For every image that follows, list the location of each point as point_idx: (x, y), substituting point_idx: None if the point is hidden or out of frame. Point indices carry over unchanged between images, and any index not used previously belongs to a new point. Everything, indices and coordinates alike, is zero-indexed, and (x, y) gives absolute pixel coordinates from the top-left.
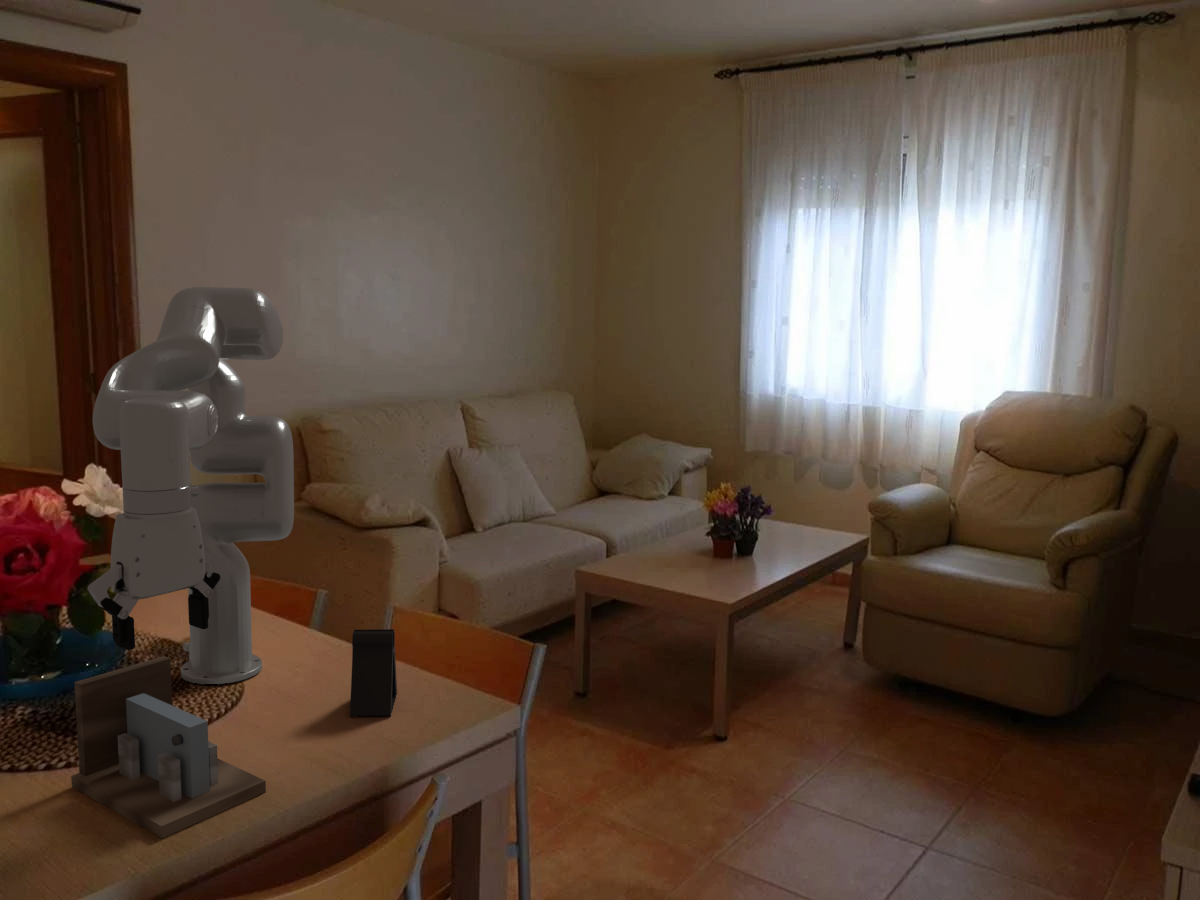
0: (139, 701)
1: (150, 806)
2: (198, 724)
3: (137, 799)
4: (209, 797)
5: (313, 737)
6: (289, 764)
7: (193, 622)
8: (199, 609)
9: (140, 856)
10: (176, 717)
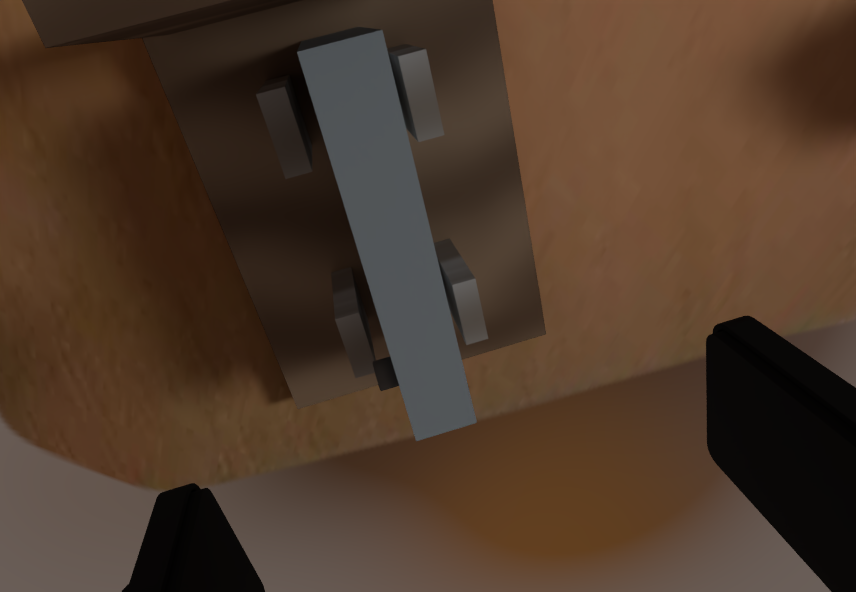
0: (340, 124)
1: (297, 317)
2: (446, 431)
3: (278, 269)
4: None
5: (767, 113)
6: (640, 225)
7: (723, 387)
8: (803, 531)
9: (246, 431)
10: (410, 352)
